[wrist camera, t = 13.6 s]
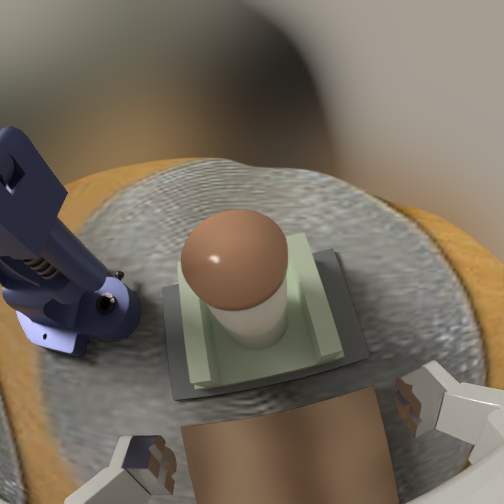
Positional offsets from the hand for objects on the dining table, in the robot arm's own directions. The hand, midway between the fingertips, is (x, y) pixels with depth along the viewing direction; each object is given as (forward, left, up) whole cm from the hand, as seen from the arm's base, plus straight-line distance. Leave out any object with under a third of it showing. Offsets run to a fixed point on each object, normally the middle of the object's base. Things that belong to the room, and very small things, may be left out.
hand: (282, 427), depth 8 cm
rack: (0, +7, -10) cm, 12 cm away
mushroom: (0, +7, -9) cm, 11 cm away
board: (0, -5, -10) cm, 12 cm away
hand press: (-17, +11, -11) cm, 23 cm away
